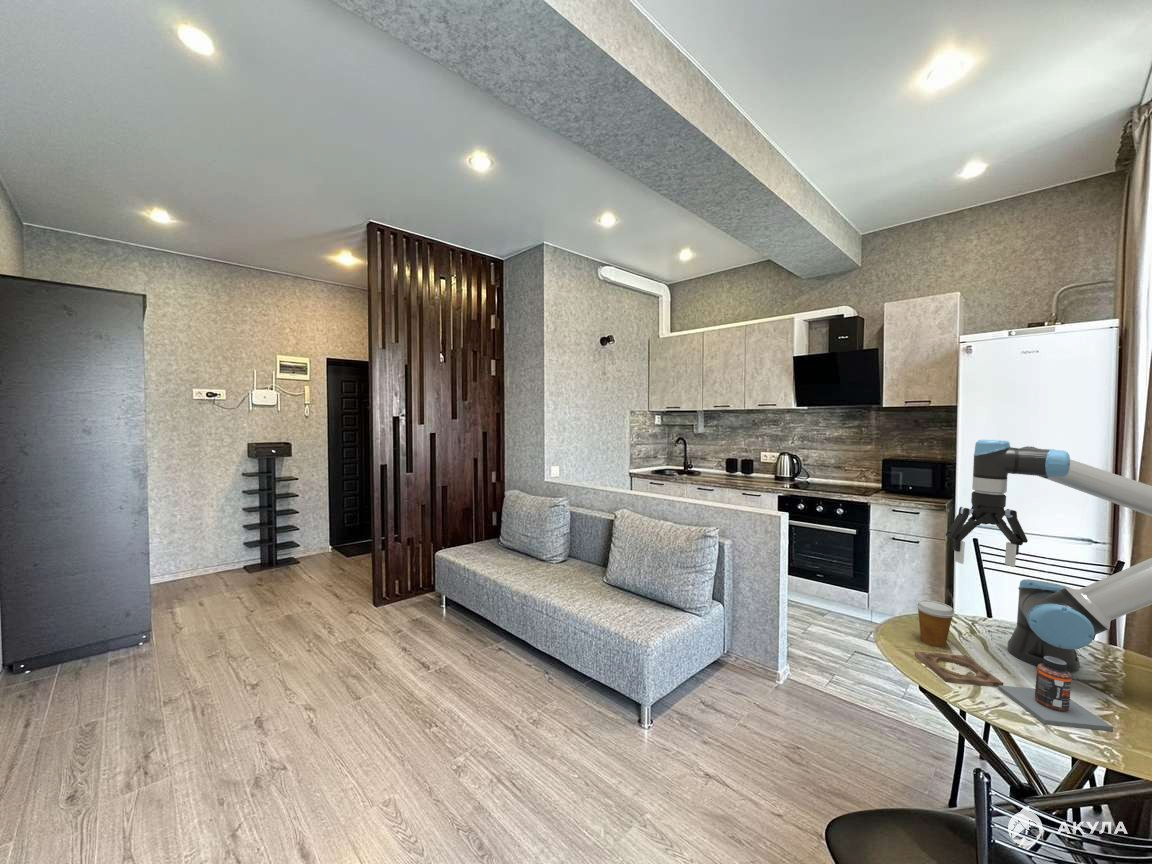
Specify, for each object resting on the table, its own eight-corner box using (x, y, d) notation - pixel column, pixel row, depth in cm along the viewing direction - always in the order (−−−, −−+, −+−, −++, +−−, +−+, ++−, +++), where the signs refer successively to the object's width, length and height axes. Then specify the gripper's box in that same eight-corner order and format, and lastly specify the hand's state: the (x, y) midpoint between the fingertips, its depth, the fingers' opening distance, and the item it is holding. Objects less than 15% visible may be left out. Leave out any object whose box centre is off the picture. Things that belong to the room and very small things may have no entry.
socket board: (965, 659, 136) (966, 655, 136) (1003, 687, 122) (1003, 683, 122) (914, 655, 138) (914, 651, 138) (945, 682, 124) (946, 677, 124)
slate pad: (1057, 694, 119) (1057, 690, 119) (1112, 731, 106) (1113, 726, 106) (997, 688, 121) (998, 685, 121) (1044, 724, 107) (1044, 720, 107)
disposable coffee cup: (960, 650, 141) (962, 612, 141) (929, 649, 141) (931, 611, 141) (936, 635, 151) (938, 599, 150) (907, 634, 151) (909, 598, 150)
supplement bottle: (1067, 715, 109) (1070, 669, 109) (1032, 702, 114) (1035, 658, 113) (1070, 706, 113) (1074, 661, 112) (1036, 694, 117) (1040, 651, 117)
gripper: (1025, 492, 136) (1020, 562, 137) (934, 488, 140) (930, 557, 140) (1048, 496, 129) (1042, 571, 130) (950, 492, 132) (946, 565, 133)
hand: (984, 564), depth 135 cm, fingers open, 13 cm apart
